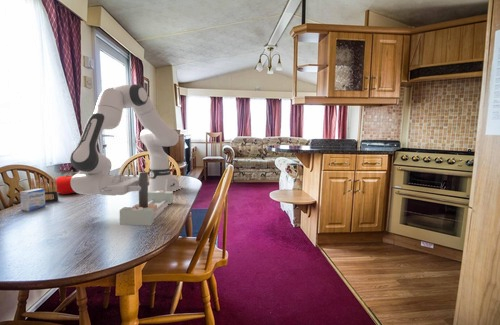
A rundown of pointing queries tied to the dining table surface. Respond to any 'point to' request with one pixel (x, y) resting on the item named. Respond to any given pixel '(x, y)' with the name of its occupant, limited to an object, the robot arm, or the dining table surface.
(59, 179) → the tomato
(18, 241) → the dining table surface
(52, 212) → the dining table surface
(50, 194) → the ammunition clip
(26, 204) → the medicine box
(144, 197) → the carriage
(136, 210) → the track
